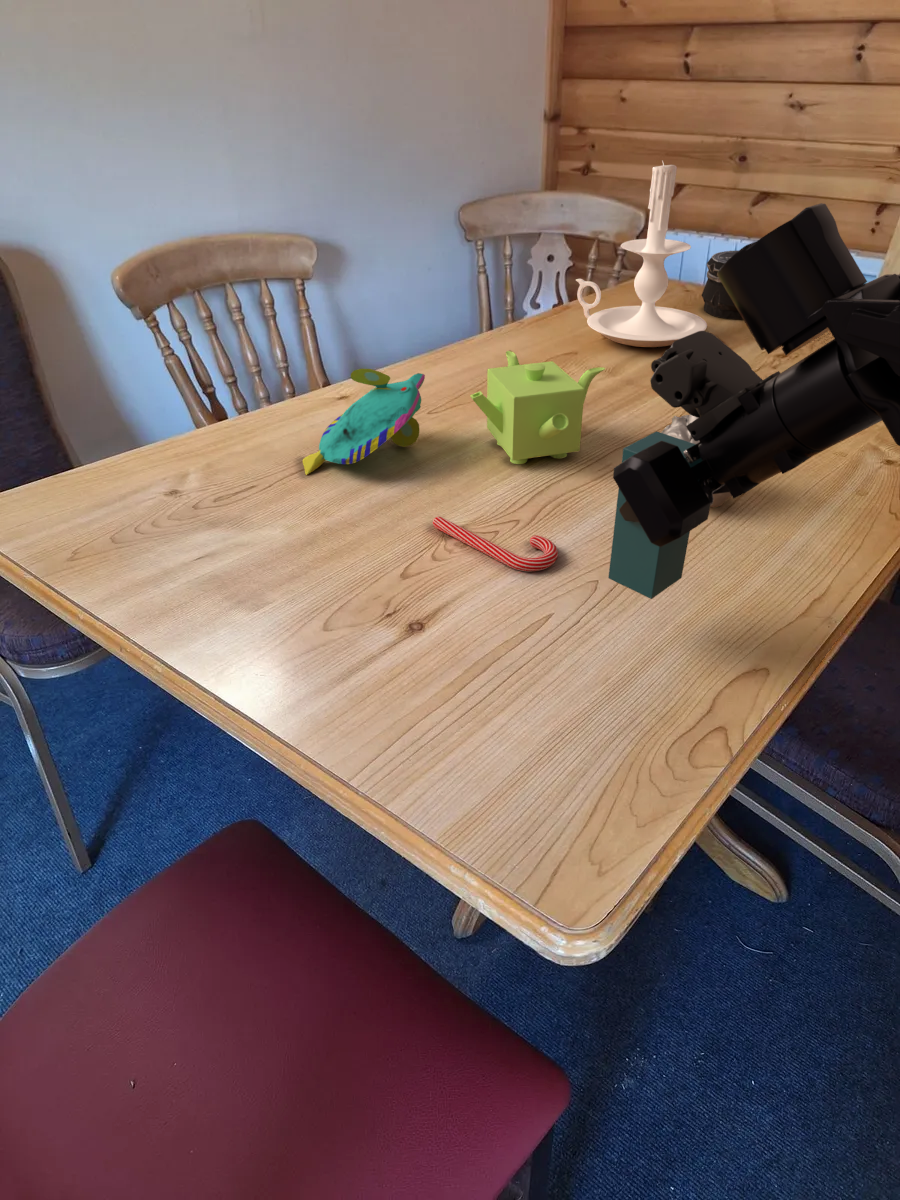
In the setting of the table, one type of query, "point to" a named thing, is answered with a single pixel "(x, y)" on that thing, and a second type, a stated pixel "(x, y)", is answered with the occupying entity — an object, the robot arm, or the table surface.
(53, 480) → the table surface
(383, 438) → the decorative fish
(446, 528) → the candy cane
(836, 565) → the table surface
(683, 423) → the heart
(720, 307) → the container
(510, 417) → the kettle
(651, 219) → the candlestick
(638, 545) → the block
